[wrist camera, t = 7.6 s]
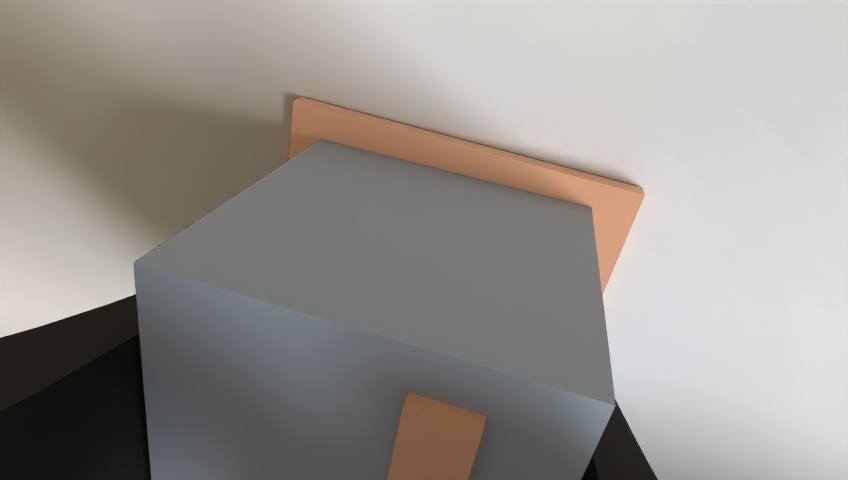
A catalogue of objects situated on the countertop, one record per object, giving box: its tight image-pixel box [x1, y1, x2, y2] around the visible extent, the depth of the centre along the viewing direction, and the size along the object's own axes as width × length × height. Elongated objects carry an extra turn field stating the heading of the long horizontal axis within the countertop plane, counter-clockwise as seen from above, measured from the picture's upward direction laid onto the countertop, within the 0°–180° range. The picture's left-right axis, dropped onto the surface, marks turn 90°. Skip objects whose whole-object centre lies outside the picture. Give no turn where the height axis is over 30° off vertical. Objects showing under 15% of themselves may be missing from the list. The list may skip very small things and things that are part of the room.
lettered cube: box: [133, 139, 616, 480], centre depth 9 cm, size 6×6×6 cm
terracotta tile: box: [288, 97, 645, 294], centre depth 12 cm, size 7×7×1 cm
